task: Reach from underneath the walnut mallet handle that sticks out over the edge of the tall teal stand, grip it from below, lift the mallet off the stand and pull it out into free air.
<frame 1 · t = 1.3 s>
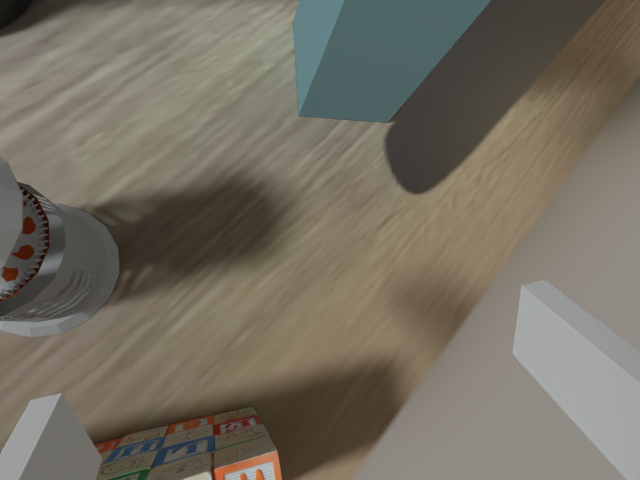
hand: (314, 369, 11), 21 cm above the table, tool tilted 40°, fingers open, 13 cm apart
grey tin can: (33, 272, 28), on the table
stand: (340, 72, 38), on the table
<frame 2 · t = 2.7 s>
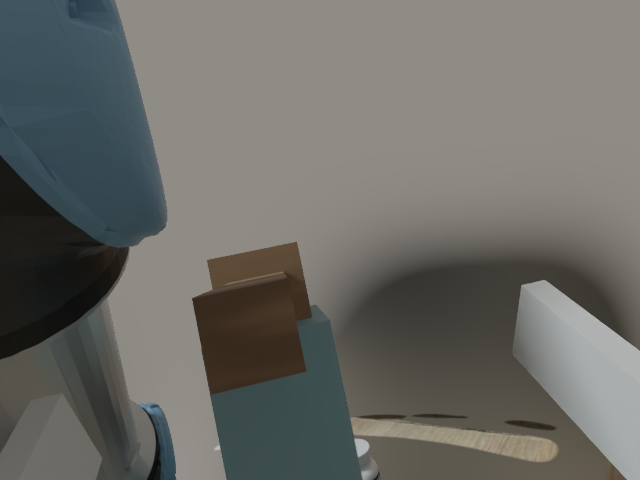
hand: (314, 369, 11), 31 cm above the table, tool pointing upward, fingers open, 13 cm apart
mallet: (268, 320, 34), point 30 cm above the table, touching stand
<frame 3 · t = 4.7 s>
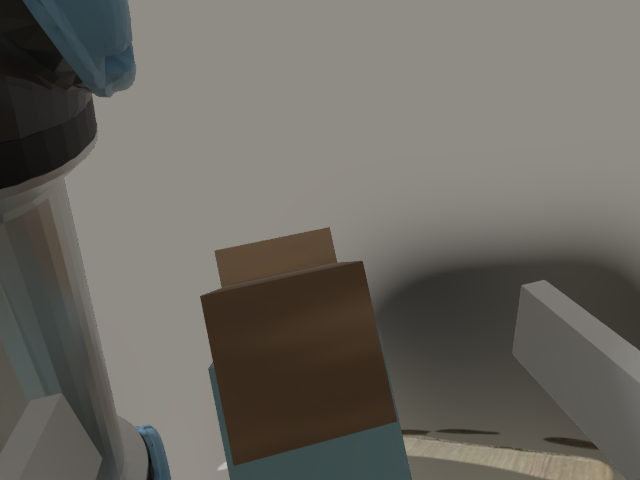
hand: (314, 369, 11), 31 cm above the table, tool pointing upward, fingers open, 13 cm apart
mallet: (291, 328, 27), point 30 cm above the table, touching stand
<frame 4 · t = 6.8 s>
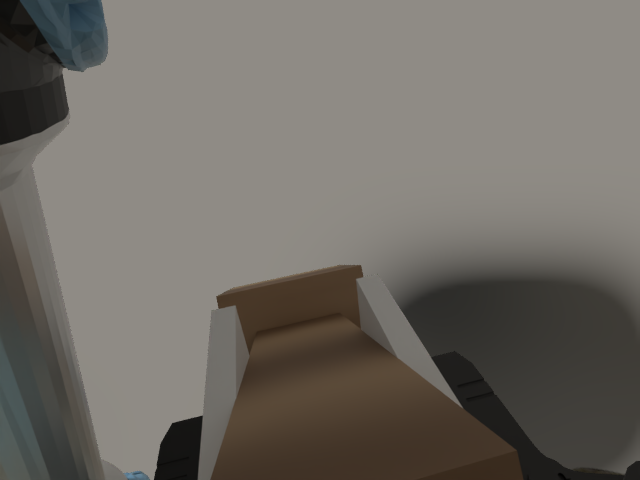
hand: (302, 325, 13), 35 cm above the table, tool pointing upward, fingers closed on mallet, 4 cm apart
mallet: (310, 383, 22), point 30 cm above the table, touching gripper, stand
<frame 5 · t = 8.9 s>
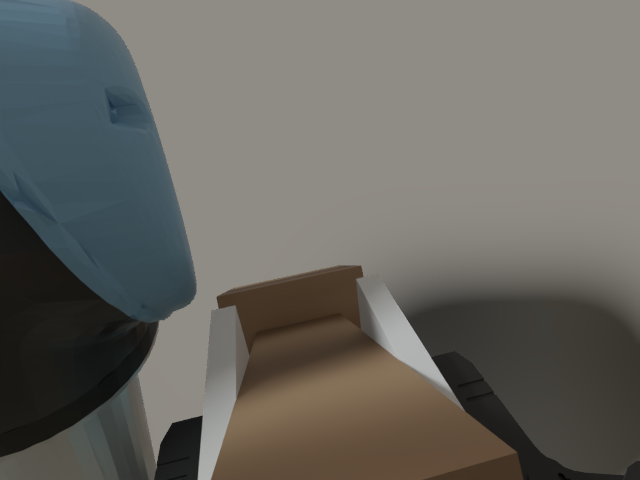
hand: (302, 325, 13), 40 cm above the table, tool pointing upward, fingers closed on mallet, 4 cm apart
mallet: (310, 383, 22), point 35 cm above the table, touching gripper
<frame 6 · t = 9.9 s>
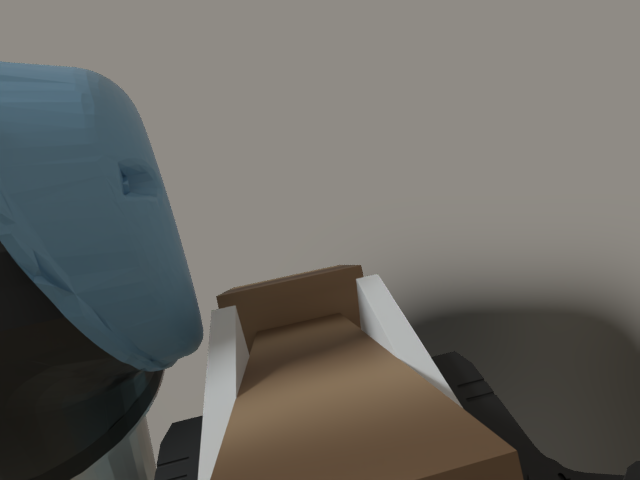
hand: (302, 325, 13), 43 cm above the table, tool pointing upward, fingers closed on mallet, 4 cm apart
mallet: (310, 383, 22), point 38 cm above the table, touching gripper
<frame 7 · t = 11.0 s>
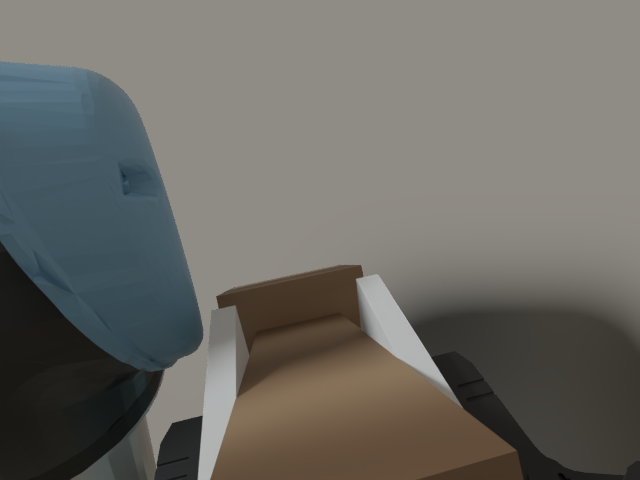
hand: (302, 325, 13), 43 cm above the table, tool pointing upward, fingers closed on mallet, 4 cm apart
mallet: (310, 383, 22), point 38 cm above the table, touching gripper
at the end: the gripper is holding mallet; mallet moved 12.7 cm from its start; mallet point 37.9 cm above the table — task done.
